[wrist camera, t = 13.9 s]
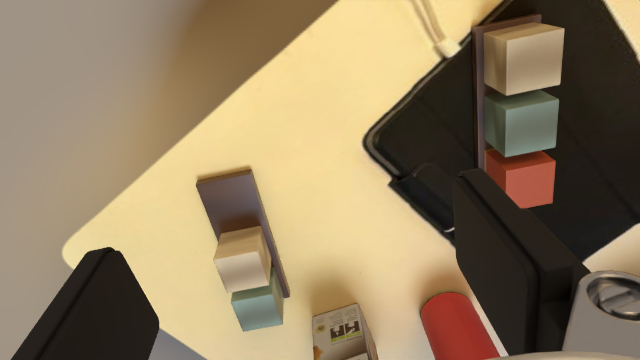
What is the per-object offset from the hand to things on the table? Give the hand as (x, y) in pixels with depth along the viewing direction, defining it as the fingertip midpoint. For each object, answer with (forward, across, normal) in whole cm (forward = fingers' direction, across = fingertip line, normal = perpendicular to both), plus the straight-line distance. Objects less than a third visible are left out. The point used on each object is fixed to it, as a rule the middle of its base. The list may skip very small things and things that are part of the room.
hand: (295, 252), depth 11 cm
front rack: (+27, -19, +9) cm, 34 cm away
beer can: (+27, -12, +34) cm, 45 cm away
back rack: (+27, +9, +18) cm, 34 cm away
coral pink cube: (+26, -19, +15) cm, 35 cm away
